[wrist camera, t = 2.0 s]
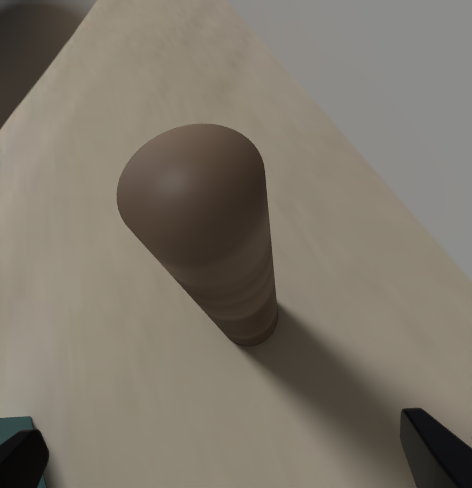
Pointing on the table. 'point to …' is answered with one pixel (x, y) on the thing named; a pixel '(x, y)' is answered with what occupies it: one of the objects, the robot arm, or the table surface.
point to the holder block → (9, 426)
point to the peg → (207, 223)
